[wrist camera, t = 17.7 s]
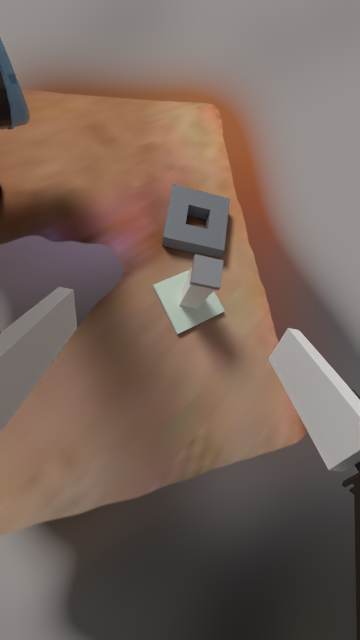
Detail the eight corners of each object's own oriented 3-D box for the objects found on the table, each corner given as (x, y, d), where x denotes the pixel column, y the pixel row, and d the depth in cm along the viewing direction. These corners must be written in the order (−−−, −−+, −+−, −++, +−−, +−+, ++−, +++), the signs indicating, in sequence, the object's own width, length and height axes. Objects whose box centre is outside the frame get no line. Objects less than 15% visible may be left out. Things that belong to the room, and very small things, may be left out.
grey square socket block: (162, 245, 45) (163, 236, 42) (171, 196, 48) (172, 184, 45) (219, 258, 47) (224, 250, 44) (224, 209, 50) (229, 198, 47)
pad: (153, 286, 43) (153, 284, 42) (199, 267, 46) (200, 265, 45) (176, 334, 42) (177, 334, 41) (222, 312, 45) (224, 311, 44)
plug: (177, 306, 42) (190, 281, 29) (180, 286, 43) (195, 254, 30) (198, 310, 43) (220, 287, 29) (200, 290, 44) (223, 260, 30)
